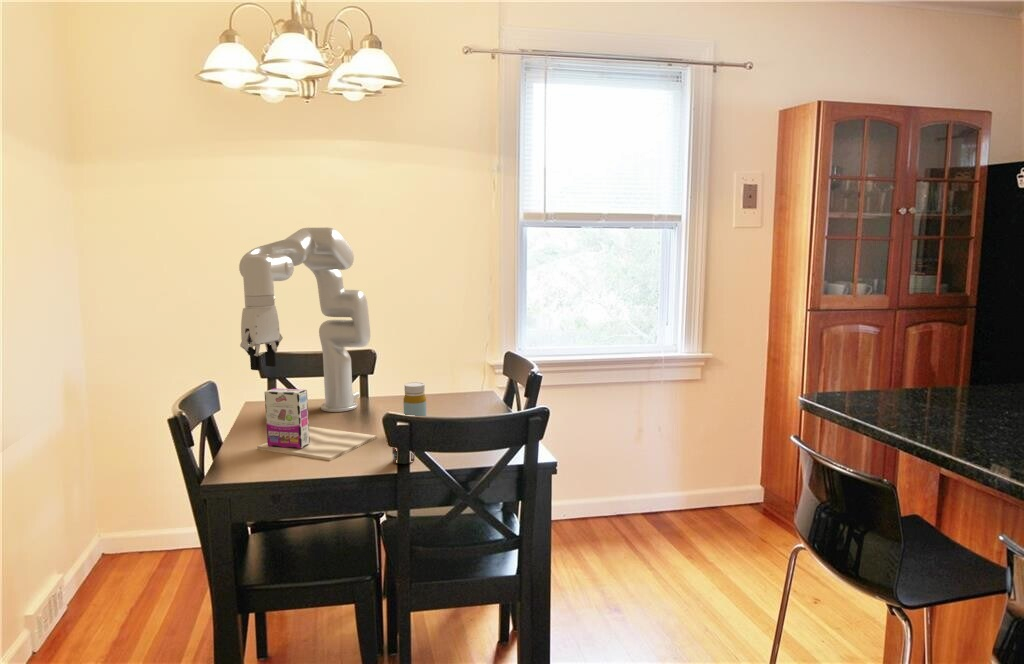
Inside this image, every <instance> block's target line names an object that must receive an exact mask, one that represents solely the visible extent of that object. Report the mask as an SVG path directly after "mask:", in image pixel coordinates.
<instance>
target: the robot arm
mask: <svg viewBox="0 0 1024 664" xmlns="http://www.w3.org/2000/svg"><path fill="white" fill-rule="evenodd" d="M354 257H355V255H354V251H353V249H352V247H351V246H350V243H349V242H348V241H346V239H345V238H344V237H343V235H342V234H341V233H340V232H339V231H337V230H336V229H335V228H332V227H303V228H300V229H298V230H297V231H295V232H294V233H292V234H291V235H289V236H287V237H286V238H285V239H282V240H278V241H274V242H270V243H267V244H263V245H260V246H257V247H255V248H252V249H251V250H249V251H248V252H246V253H244V255H243V256H242V257H241V259H240V261H239V264H238V267H239V268H238V269H239V270H238V271H239V273H240V275H241V277H242V279H243V292H244V293H243V295H244V307H243V308H242V313H241V323H240V339H241V342H240V344H239V346H240V348H241V349H243V350H244V351H245V352H246V353H247V356H249V361H250V370H252V371H258V372H259V371H261V370H262V358H261V355H260V347H261V345H264V346H265V349H266V350H265V352H264V355H265V357H264V360H265V366H266V367H272V368H274V367H276V366H277V356H276V354H277V352H278V348H279V345H280V343H281V341H282V340H283V339H284V338H283V335H282V334H281V333H280V321H279V315H278V311H277V306H276V304H275V303H276V301H275V300H276V297H275V289H274V288H275V287H274V282H284V281H287V280H289V279H290V278H291V277H292V275H293V273H294V269H295V267H296V266H300V265H301V264H303V265H304V266H305V267H307V268H308V269H309V270H310V271H311V272H312V274H313V275H314V277H315V279H316V283H317V285H316V286H317V293H318V299H319V305H320V311H321V313H322V314H323V316H325V317H328V318H351V319H329V320H325V321H323V322H322V323H321V324H320V326H319V328H318V337H319V340H320V345H321V350H322V361H323V385H324V386H323V387H324V401H325V402H324V403H322V404H321V405H320V409H321V410H322V411H324V412H331V413H339V412H341V413H343V412H347V411H352V410H355V409H356V408H358V403H357V402H356V401H355V399H357V398H359V397H360V393H359V392H358V391H356V392H353V377H352V376H353V375H352V374H353V373H352V357H351V355H350V353H349V352H348V351H347V349H346V348H363V347H366V346H368V344H369V343H370V340H371V325H370V315H369V306H368V300H367V299H368V298H367V297H366V294H365V293H364V292H363V291H361V290H358V289H345V287H344V281H343V280H344V279H343V275H342V272H341V271H345V270H349V269H350V268H351V267H352V265H353V263H354V259H355V258H354Z"/></svg>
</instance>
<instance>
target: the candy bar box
mask: <svg viewBox="0 0 1024 664" xmlns="http://www.w3.org/2000/svg"><path fill="white" fill-rule="evenodd" d="M264 404H265V405H264V407H265V422H266V439H267V442H268V446H269V447H283V448H297V449H302V448H304V447H305V446H307V445H309V444H310V438H309V427H310V423H309V407H308V404H309V403H308V390H307V389H299V388H298V389H296V388H270V389H268V390H266V391H264Z"/></svg>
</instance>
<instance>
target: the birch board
mask: <svg viewBox="0 0 1024 664" xmlns="http://www.w3.org/2000/svg"><path fill="white" fill-rule="evenodd" d="M309 438H310V444H309V445H307V446H305V447H304V448H302V449H297V448H283V447H269V446H268V441H267V442H264V443H262V444H259V445H257V446H256V449H257V450H261V451H266V450H267V451H268V452H274V453H279V454H287V455H292V456H298V457H299V456H300V457H305V458H312V459H318V460H325V461H333V460H334V458H335V459H337V458H339V457H341V456H342V455H345V454H347V453H349V452H351V451H353V450H355V448H356V449H358V448H360V447H362V446H363V444H364V445H365V443H366V444H368V443H369V441H370V442H372V441H374V440H376V439H378V436H377V435H376V434H368V433H367V434H366V433H362V432H352V431H344V430H339V429H331V428H323V427H316V426H309ZM375 438H376V439H375ZM373 439H374V440H373ZM371 440H372V441H371ZM367 442H368V443H367ZM361 445H362V446H361ZM359 446H360V447H359ZM357 447H358V448H357ZM267 451H266V452H267Z"/></svg>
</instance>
